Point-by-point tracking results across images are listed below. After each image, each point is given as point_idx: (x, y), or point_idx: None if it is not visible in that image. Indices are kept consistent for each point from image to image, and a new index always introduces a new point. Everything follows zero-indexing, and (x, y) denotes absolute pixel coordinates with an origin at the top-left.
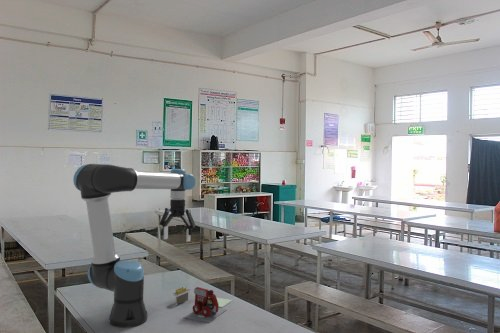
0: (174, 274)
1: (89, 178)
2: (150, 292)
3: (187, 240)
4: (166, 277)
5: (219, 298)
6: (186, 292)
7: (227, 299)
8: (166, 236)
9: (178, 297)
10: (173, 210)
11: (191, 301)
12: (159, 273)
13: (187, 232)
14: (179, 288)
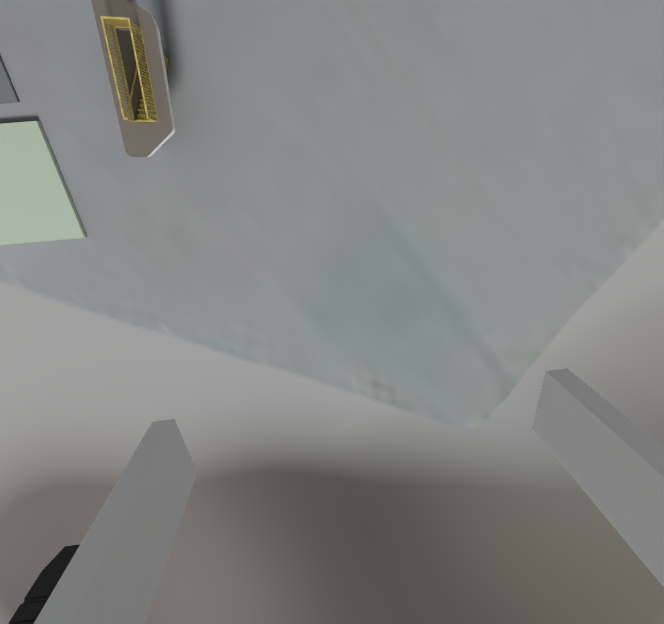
0: (454, 392)
1: None
2: (403, 131)
3: (145, 438)
4: (463, 348)
5: (45, 235)
6: (117, 103)
7: (5, 242)
8: (565, 431)
9: (123, 32)
10: None
11: None
12: (519, 373)
13: (63, 595)
14: (139, 71)
